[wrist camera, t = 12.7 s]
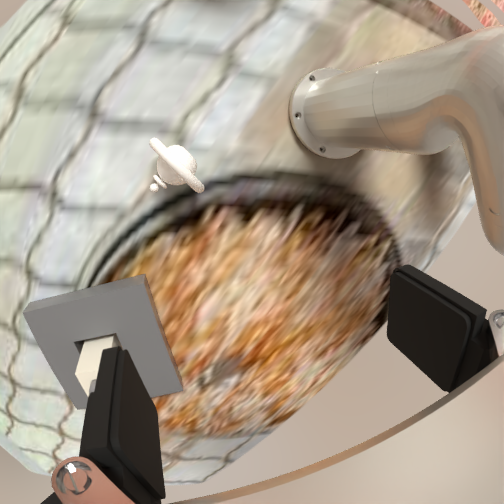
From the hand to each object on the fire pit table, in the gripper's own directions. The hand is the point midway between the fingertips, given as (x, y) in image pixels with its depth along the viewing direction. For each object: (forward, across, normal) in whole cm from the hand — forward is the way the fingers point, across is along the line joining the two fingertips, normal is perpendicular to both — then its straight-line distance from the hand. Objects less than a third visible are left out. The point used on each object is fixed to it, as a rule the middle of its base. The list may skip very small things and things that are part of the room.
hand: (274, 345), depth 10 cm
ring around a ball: (+31, +2, -4) cm, 31 cm away
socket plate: (+30, +17, +17) cm, 39 cm away
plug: (+30, +17, +17) cm, 39 cm away
